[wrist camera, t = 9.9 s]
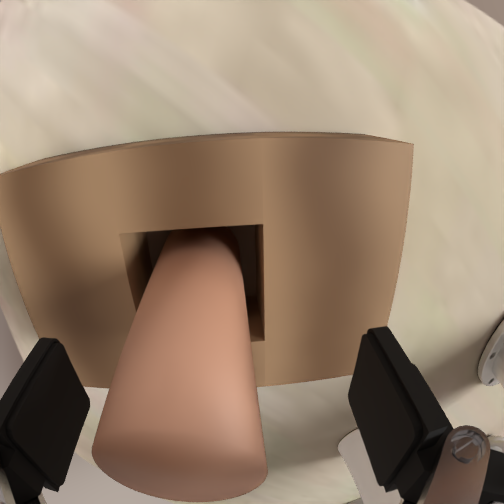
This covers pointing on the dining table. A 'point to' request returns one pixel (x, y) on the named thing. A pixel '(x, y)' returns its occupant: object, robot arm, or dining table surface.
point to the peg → (187, 380)
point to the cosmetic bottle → (364, 471)
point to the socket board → (215, 215)
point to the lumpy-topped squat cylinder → (357, 501)
